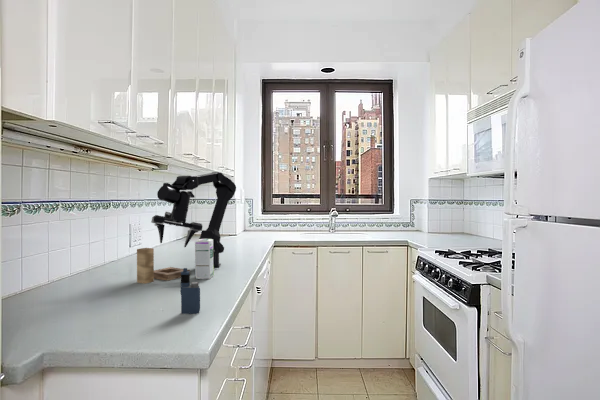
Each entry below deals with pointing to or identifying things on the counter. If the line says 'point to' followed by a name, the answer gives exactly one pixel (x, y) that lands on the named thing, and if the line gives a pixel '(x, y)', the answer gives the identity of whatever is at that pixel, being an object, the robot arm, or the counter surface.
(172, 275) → the socket
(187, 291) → the vaping device
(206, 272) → the syrup box
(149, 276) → the peg
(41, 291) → the counter surface
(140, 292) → the counter surface
